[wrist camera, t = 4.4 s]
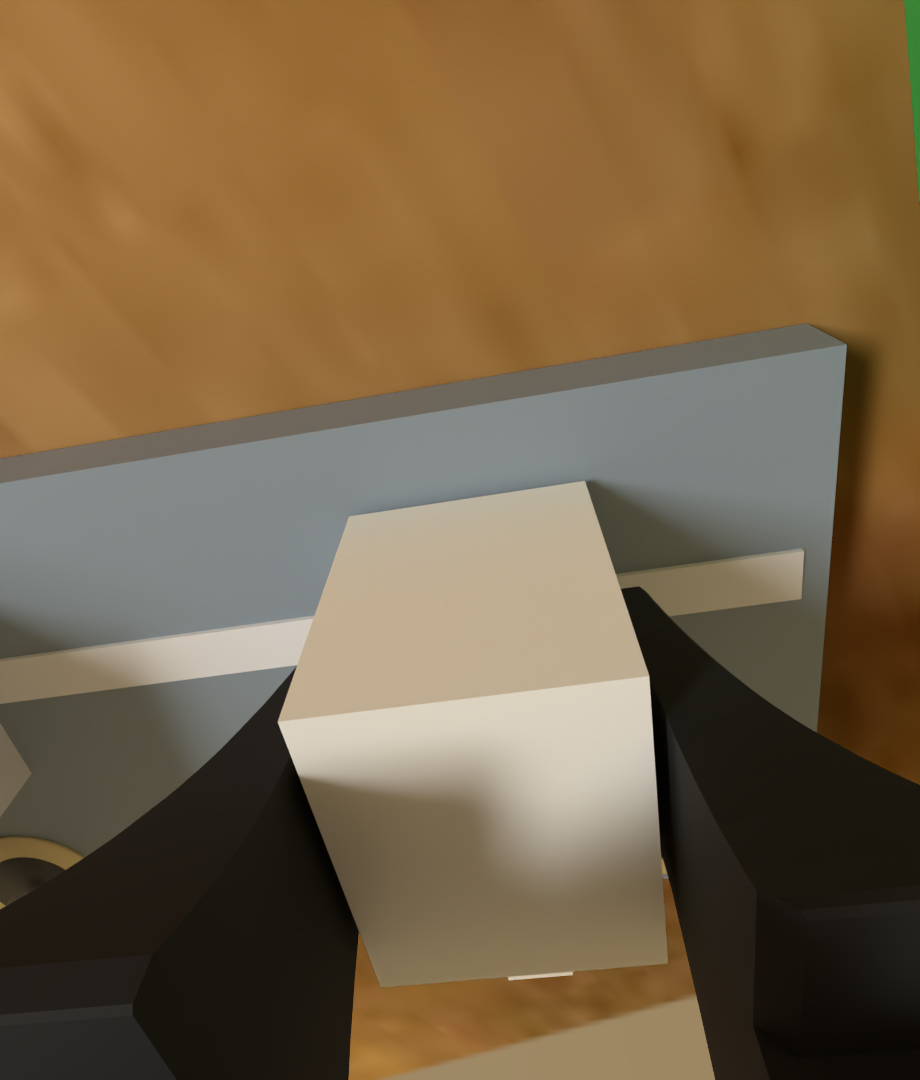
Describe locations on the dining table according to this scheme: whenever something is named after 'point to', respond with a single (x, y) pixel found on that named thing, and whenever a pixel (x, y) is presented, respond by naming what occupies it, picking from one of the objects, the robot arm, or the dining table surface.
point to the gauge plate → (374, 486)
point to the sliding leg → (482, 742)
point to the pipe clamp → (914, 69)
